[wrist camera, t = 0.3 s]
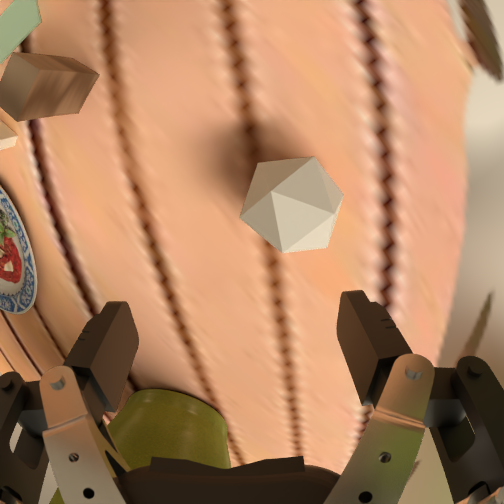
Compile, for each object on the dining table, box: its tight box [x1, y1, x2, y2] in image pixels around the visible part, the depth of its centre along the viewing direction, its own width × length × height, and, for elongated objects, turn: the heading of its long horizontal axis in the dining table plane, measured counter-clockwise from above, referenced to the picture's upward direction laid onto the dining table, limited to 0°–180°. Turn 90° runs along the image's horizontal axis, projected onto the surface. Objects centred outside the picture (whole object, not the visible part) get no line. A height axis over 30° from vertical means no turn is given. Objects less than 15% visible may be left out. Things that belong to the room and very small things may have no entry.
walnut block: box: [0, 52, 99, 122], centre depth 20 cm, size 5×5×10 cm
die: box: [239, 157, 344, 253], centre depth 26 cm, size 8×9×10 cm
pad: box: [0, 0, 42, 64], centre depth 20 cm, size 9×9×1 cm
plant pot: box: [49, 389, 231, 504], centre depth 35 cm, size 30×30×29 cm
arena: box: [0, 120, 18, 150], centre depth 18 cm, size 27×24×5 cm
